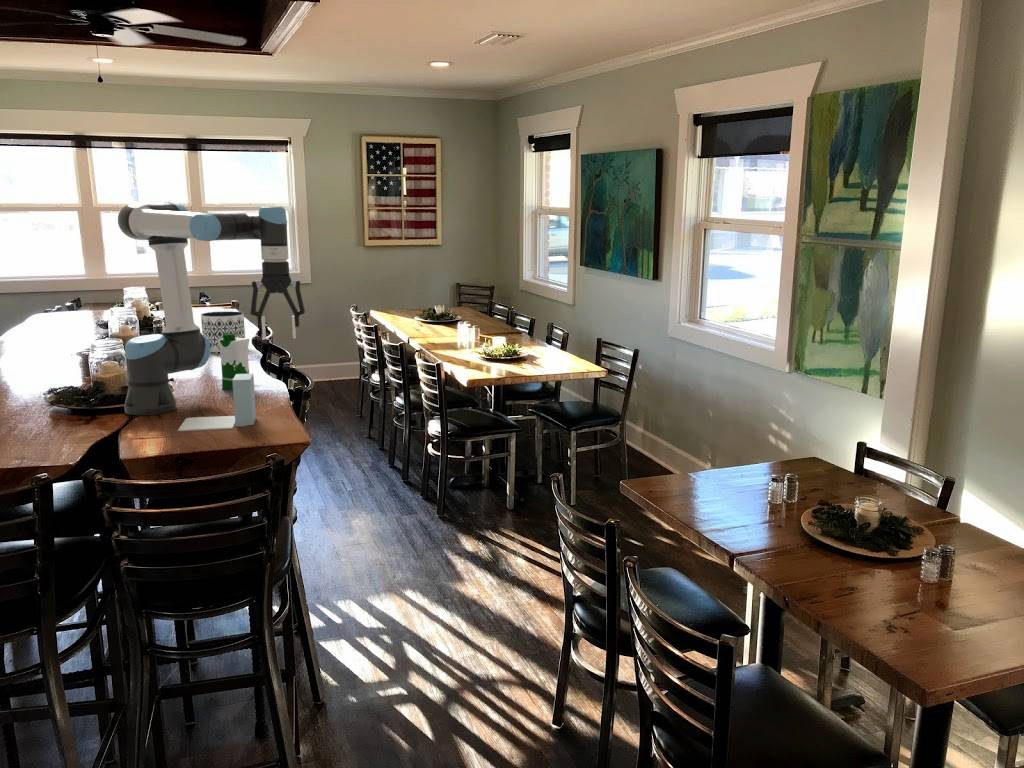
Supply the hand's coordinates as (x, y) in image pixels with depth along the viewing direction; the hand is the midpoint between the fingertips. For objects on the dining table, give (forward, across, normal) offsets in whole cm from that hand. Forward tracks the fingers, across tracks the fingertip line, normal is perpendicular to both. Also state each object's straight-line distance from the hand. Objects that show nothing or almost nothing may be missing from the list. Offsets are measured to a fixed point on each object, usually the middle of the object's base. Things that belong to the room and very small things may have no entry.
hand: (279, 338), depth 239 cm
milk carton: (+25, -19, +48) cm, 58 cm away
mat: (+25, -22, 0) cm, 33 cm away
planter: (+26, -34, +134) cm, 141 cm away
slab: (+25, -11, 0) cm, 28 cm away
